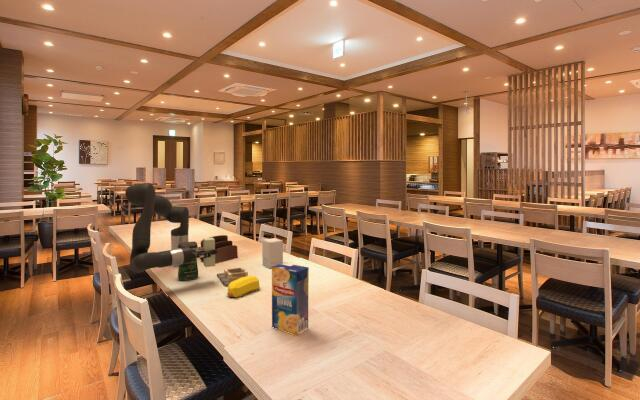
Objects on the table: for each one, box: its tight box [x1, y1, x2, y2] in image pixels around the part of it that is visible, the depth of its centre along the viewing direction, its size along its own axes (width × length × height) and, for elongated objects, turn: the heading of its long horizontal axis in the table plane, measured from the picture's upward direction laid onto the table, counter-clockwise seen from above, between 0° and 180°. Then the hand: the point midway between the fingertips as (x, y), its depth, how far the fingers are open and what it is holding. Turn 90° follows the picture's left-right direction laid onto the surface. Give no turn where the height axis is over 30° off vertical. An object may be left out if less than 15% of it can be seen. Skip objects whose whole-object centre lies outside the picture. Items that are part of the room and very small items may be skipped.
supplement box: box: [261, 237, 284, 269], centre depth 202 cm, size 9×9×15 cm
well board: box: [216, 266, 249, 288], centre depth 178 cm, size 18×13×4 cm
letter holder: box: [200, 234, 239, 265], centre depth 214 cm, size 10×20×14 cm, turn 145°
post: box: [202, 237, 216, 268], centre depth 172 cm, size 4×4×13 cm
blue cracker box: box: [271, 262, 310, 336], centre depth 125 cm, size 7×11×22 cm, turn 57°
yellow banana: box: [226, 275, 261, 299], centre depth 160 cm, size 18×7×8 cm
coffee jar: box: [177, 241, 199, 281], centre depth 178 cm, size 10×8×19 cm
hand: (214, 250), depth 173 cm, fingers closed on post, 5 cm apart
